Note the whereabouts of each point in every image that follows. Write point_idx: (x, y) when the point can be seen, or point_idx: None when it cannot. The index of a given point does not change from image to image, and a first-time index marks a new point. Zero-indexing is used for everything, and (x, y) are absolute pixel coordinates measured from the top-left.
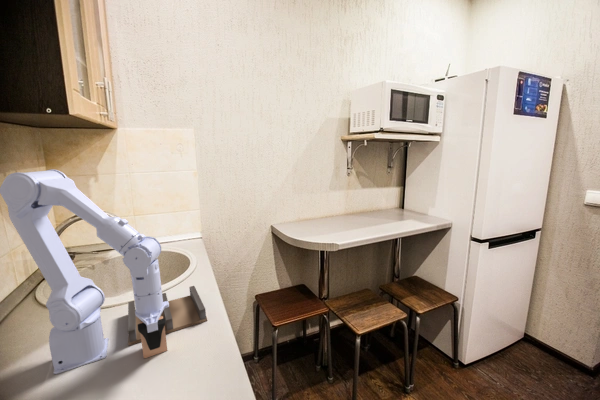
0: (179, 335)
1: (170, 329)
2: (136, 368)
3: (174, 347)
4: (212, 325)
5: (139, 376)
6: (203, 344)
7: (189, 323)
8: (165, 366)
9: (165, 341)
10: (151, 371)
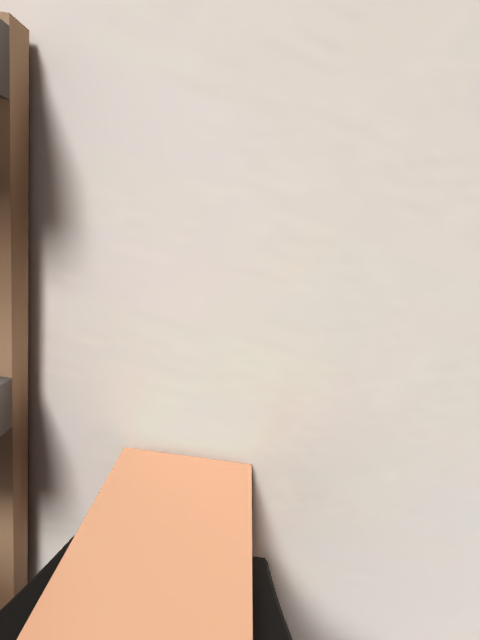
0: (107, 339)
1: (10, 401)
2: None
3: (240, 411)
4: (140, 13)
5: (370, 627)
6: (373, 212)
7: (6, 226)
8: (400, 506)
9: (250, 531)
10: (380, 574)
